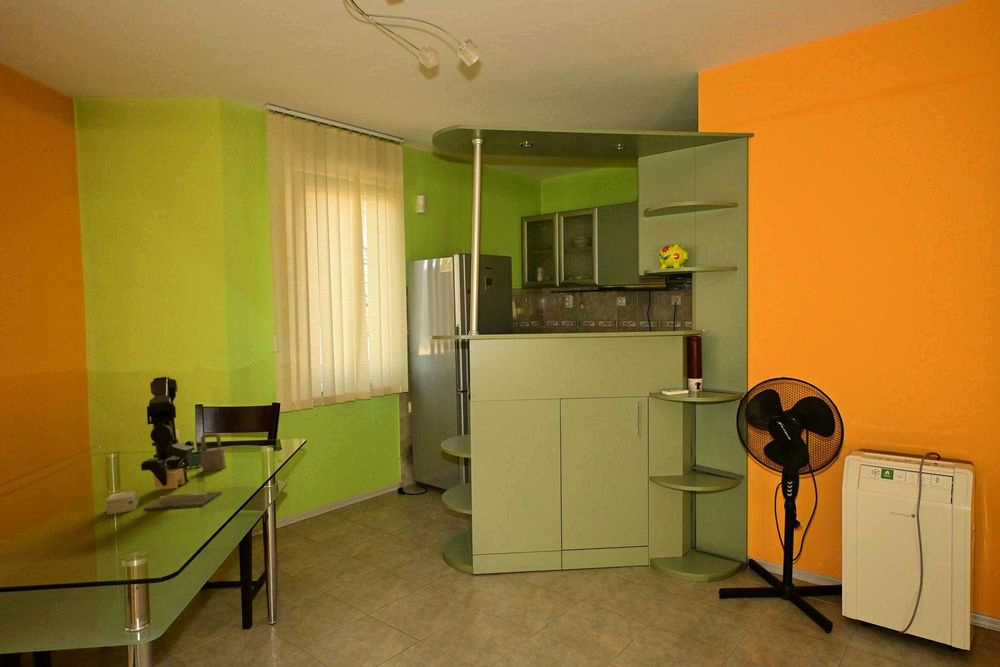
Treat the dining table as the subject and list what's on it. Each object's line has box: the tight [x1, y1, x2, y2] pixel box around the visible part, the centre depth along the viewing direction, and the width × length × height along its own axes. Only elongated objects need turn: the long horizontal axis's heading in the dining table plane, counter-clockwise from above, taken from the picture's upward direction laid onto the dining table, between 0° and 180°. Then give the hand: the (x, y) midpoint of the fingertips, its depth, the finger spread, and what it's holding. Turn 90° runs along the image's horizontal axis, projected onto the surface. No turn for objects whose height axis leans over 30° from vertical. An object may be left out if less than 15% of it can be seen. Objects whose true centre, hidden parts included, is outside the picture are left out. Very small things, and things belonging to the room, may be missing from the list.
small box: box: [105, 489, 139, 515], centre depth 193 cm, size 8×8×5 cm
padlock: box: [200, 432, 227, 472], centre depth 235 cm, size 4×8×15 cm, turn 98°
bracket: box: [188, 444, 208, 467], centre depth 246 cm, size 9×9×9 cm
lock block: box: [153, 468, 186, 491], centre depth 195 cm, size 7×5×5 cm
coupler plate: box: [143, 491, 222, 512], centre depth 195 cm, size 20×12×2 cm, turn 88°
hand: (169, 482), depth 195 cm, fingers closed on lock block, 5 cm apart
